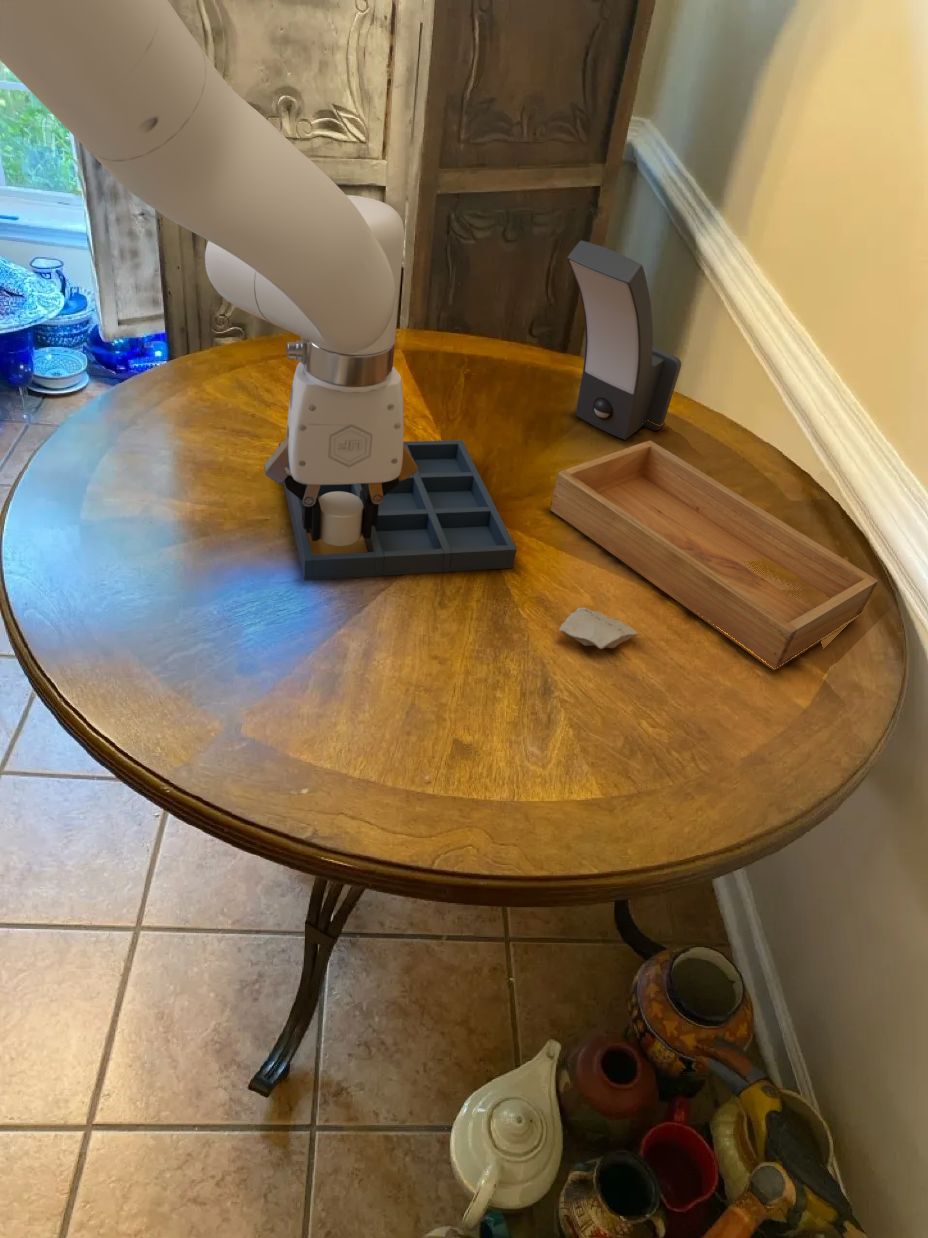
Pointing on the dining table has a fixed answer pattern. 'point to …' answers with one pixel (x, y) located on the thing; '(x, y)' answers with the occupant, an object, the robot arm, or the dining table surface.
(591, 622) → the stone
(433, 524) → the grid
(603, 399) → the light fixture
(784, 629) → the tray
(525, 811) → the dining table surface
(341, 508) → the cylinder
